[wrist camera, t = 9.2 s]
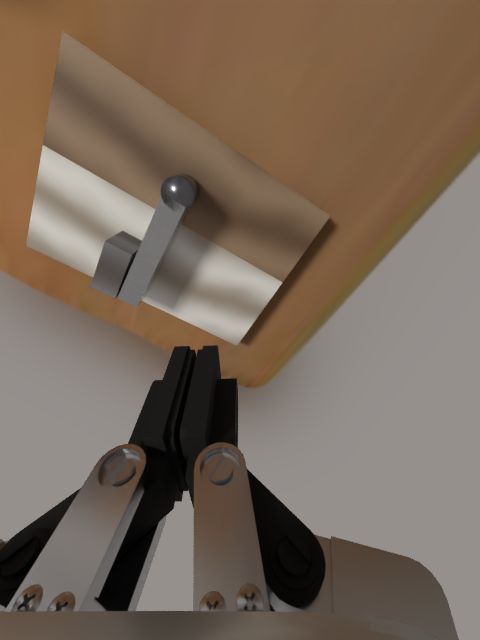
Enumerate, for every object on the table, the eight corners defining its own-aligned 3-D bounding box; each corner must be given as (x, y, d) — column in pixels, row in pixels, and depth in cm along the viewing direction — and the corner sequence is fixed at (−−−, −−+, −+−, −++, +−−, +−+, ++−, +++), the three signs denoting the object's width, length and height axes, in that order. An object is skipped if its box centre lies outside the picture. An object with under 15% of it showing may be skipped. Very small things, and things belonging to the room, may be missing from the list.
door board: (76, 41, 21) (23, 2, 16) (324, 212, 27) (344, 224, 22) (38, 240, 29) (-5, 257, 24) (237, 336, 35) (236, 366, 30)
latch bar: (178, 167, 23) (168, 168, 20) (204, 185, 24) (199, 188, 21) (127, 282, 29) (114, 296, 26) (149, 293, 30) (139, 308, 27)
